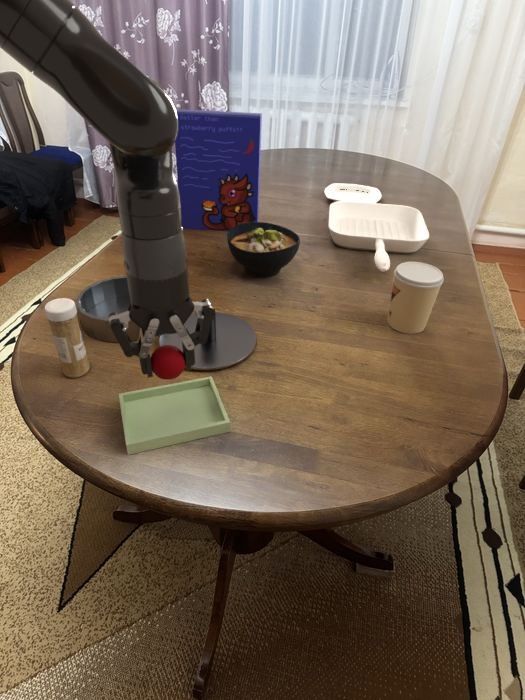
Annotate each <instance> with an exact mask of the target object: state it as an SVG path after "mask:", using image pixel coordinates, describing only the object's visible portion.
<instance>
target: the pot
mask: <svg viewBox="0 0 525 700" xmlns="http://www.w3.org/2000/svg"><path fill="white" fill-rule="evenodd" d="M130 302H131V301H130V295H129V288H128V282H127V276H126V275H121V276H113V277H109V278H105V279H101V280H98V281H96V282H94V283H92V284H90V285H88V286H87V287H84V289H82V290H81V291H80V293H79V294H78V296H77V297H76V302H75V303H76V310H77V314H78V319H79V322H80V326H81V327H82V330H83V331H84V332H85V334H86V335H88V336H89V337H91V338H93V339H95V340H98V341H101V342H105V343H116V344H117V343H118V341H117V339H116V337H115V335H114V333H113V331H112V329H111V328H110V322H109V314H110V313H113V312H114V313H117V314H121V313H124V312H126V311H128V308H129V306H130ZM126 332H127V334H128V335H129V337H130V339H131V341H132V342H135V341H137V342H138V339H139V335H140V327H139V326H138V325H136V324H135V323H134V322H133V321H132V320H130V321H129V322H128V329H127V330H126ZM118 344H119V343H118Z"/></svg>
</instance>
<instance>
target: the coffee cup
mask: <svg viewBox="0 0 525 700" xmlns="http://www.w3.org/2000/svg"><path fill="white" fill-rule="evenodd" d="M444 279H445V278H444V275H443V272H442V271H441V270H440V269H439V268H438V267H436V266H434V265H431V264H429V263H426V262H420V261H405V262H402V263H399V264H398V265H397V266H396V268H395V269H394V271H393V280H392V285H391V292H390V300H389V306H388V313H387V324H388V325H389V326H390V328H392V329H393V330H395V331H397V332H400V333H402V334H403V333H404V334H409V335H410V334H411V335H412V334H419V333H421V332H424V330H425V328H426V326H427V324H428V321H429V318H430V316H431V313H432V311H433V308H434V305H435V303H436V300H437V297H438V295H439V292H440V289H441V286H442V285H443V283H444Z"/></svg>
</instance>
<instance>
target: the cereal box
mask: <svg viewBox="0 0 525 700" xmlns="http://www.w3.org/2000/svg"><path fill="white" fill-rule="evenodd" d="M175 110H176V113H177V117H178V133H177V137H176V140H175V143H174V150H175V162H176V163H175V164H176V177H177V179H176V180H177V185H178V189H179V194H180V201H181V215H182V227H183V229H189V230H203V231H204V230H207V231H222V232H223V231H225V232H229V230H230V229H231V228H232V227H234V226H236V225H239V224H242V223H247V222H259V217H260V216H259V214H260V212H259V211H260V182H261V181H260V180H261V154H262V153H261V151H262V148H261V147H262V121H263V120H262V118H263V117H262V116H263V113H261V112H260V113H259V112H242V111H223V110H222V111H220V110H201V109H183V108H182V109H180V108H177V109H175Z"/></svg>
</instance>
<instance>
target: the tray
mask: <svg viewBox="0 0 525 700" xmlns="http://www.w3.org/2000/svg"><path fill="white" fill-rule="evenodd" d="M118 400H119V407H120V413H121V421H122V427H123V432H124V433H123V434H124V442H125V447H126V452H127V455H128V456H129V455H134V454H137V453H143V452H147V451H151V450H156V449H160V448H164V447H169V446H173V445H176V444H177V445H178V444H182V443H186V442H191V441H195V440H199V439H204V438H208V437H213V436H218V435H222V434H227V433H231V421H230V418H229V416H228V414H227V411H226V408H225V406H224V403H223V401H222V398H221V396H220V393H219V391H218V388H217V386H216V382H215V381H214V378H213V376H211V375H210V376H206V377H201V378H195V379H190V380H185V381H178V382H173V383H168V384H164V385H158V386H153V387H147V388H143V389H137V390H132V391H126V392H121V393H118Z"/></svg>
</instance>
